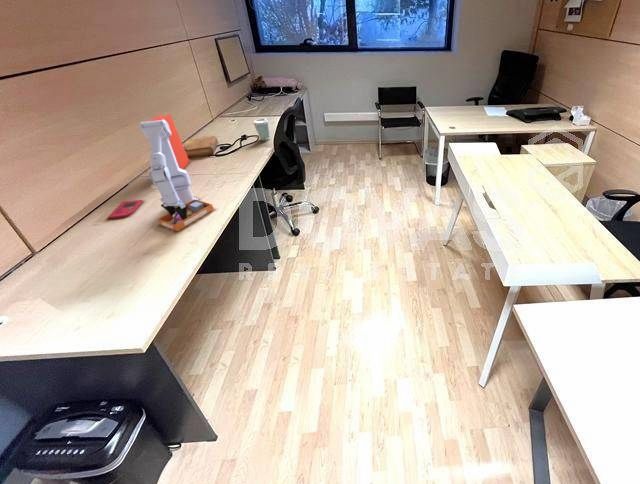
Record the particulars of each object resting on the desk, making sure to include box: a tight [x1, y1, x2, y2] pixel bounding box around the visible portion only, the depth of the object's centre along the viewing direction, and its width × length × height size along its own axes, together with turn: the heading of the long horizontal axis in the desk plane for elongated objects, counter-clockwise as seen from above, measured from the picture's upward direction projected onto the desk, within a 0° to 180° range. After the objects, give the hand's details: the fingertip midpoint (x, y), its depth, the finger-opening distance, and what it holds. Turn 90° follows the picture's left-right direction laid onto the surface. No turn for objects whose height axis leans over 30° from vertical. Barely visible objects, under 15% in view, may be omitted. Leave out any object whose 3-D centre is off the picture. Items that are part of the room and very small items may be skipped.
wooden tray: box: [157, 199, 215, 232], centre depth 157 cm, size 13×20×4 cm, turn 156°
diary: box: [183, 135, 219, 158], centre depth 229 cm, size 23×19×6 cm
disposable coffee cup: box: [253, 118, 270, 141], centre depth 244 cm, size 11×11×15 cm
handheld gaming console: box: [107, 199, 144, 220], centre depth 164 cm, size 10×1×15 cm
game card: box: [172, 212, 183, 225], centre depth 154 cm, size 7×5×9 cm
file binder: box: [149, 114, 190, 170], centre depth 197 cm, size 8×17×32 cm, turn 12°
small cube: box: [189, 201, 205, 213], centre depth 161 cm, size 5×4×4 cm
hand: (179, 217), depth 154 cm, fingers open, 7 cm apart
